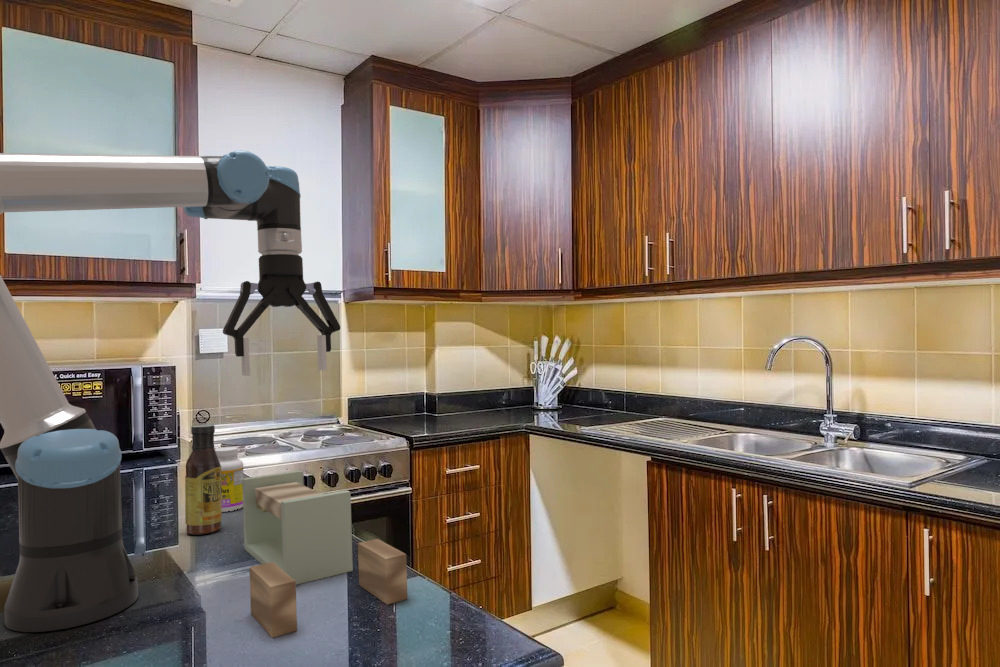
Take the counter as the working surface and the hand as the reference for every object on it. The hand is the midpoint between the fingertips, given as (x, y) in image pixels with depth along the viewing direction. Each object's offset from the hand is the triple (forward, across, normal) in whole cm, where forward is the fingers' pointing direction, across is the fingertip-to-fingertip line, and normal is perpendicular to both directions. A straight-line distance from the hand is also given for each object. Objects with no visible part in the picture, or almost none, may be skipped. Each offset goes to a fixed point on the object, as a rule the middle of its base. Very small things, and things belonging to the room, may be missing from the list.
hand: (285, 373), depth 119 cm
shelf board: (+22, -3, -13) cm, 25 cm away
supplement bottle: (+30, -6, +29) cm, 42 cm away
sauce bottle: (+30, -12, +14) cm, 35 cm away
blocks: (+29, -5, -35) cm, 46 cm away
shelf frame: (+29, -3, -13) cm, 32 cm away
